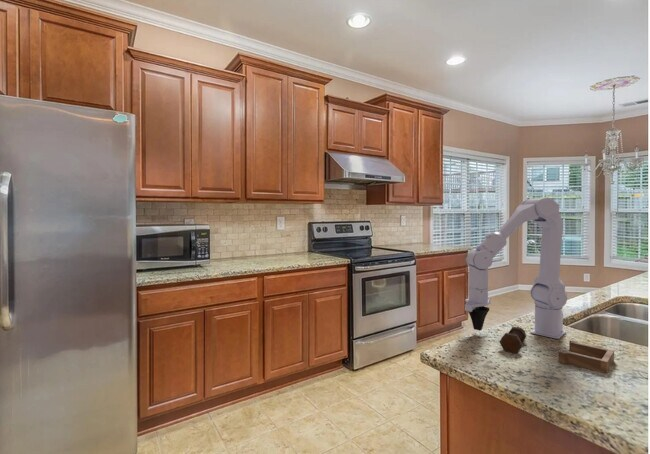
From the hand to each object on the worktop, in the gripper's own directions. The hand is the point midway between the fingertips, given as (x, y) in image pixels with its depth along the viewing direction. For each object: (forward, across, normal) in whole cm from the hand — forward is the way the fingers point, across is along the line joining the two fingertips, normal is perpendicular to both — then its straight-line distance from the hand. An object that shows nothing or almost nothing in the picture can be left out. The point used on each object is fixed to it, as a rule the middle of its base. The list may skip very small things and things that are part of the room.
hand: (477, 329), depth 112 cm
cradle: (+2, 0, +28) cm, 28 cm away
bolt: (+2, +1, +12) cm, 12 cm away
